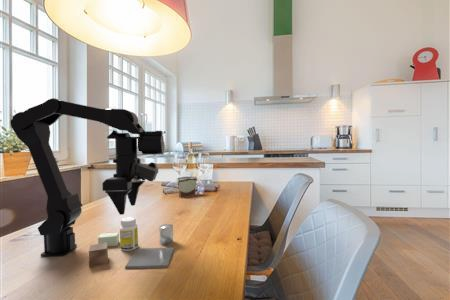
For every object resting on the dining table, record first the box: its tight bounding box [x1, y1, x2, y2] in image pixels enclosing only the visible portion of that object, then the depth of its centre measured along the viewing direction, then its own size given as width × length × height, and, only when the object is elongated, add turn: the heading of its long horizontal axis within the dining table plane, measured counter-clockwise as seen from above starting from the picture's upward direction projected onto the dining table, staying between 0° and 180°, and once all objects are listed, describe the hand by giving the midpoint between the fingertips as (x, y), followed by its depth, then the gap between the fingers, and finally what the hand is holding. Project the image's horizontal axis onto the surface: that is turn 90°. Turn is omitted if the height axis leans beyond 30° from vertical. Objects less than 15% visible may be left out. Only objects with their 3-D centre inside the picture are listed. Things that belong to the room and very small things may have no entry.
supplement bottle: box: [119, 216, 139, 252], centre depth 73 cm, size 5×5×8 cm
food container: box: [176, 176, 198, 199], centre depth 140 cm, size 12×6×10 cm, turn 130°
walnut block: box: [88, 243, 109, 268], centre depth 65 cm, size 4×4×4 cm
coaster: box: [124, 246, 175, 270], centre depth 67 cm, size 10×10×1 cm
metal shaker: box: [158, 223, 174, 247], centre depth 77 cm, size 4×4×5 cm
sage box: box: [97, 231, 120, 247], centre depth 76 cm, size 5×3×3 cm, turn 102°
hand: (127, 209), depth 73 cm, fingers open, 9 cm apart
